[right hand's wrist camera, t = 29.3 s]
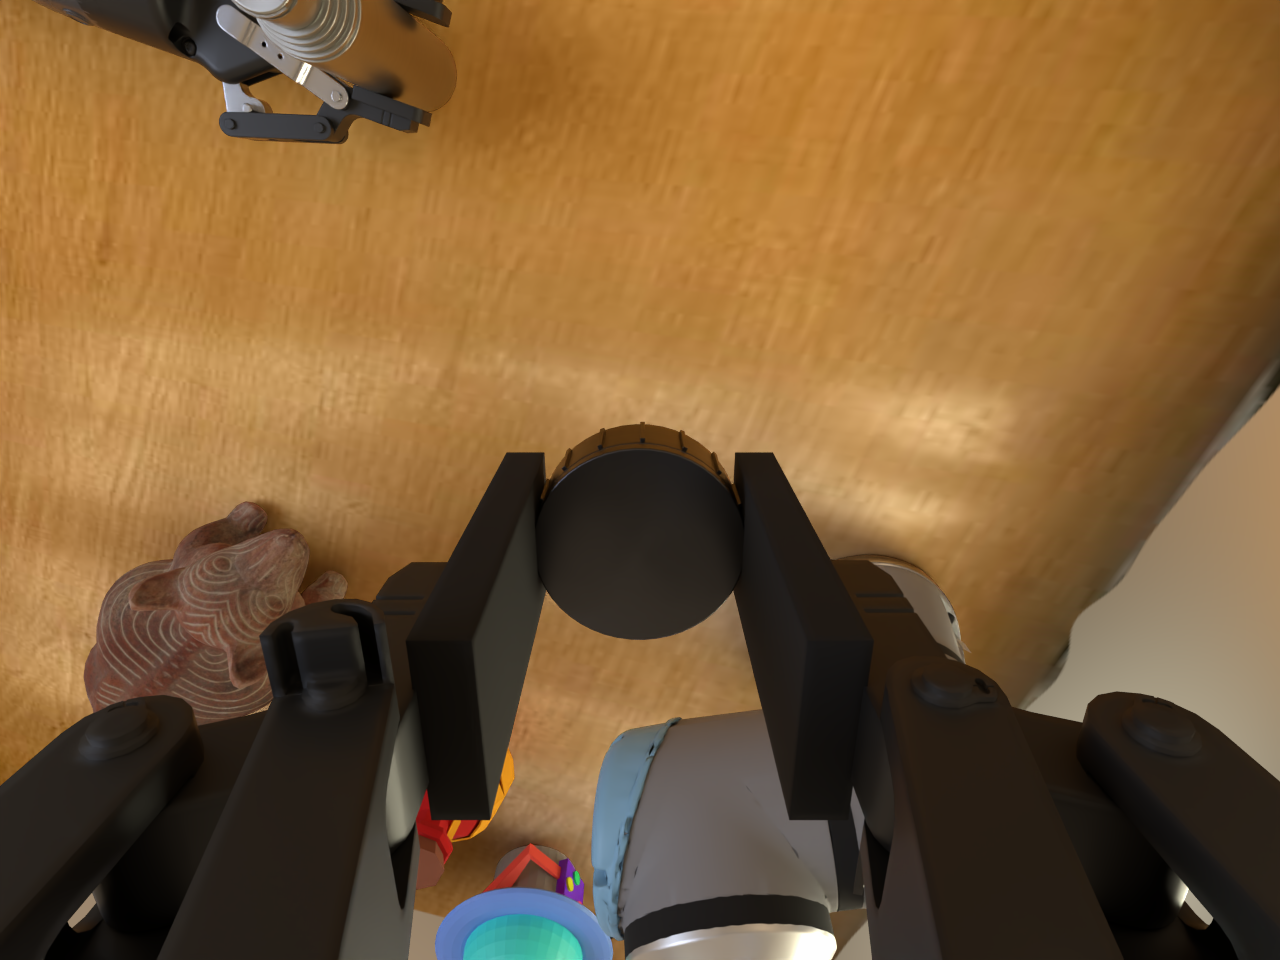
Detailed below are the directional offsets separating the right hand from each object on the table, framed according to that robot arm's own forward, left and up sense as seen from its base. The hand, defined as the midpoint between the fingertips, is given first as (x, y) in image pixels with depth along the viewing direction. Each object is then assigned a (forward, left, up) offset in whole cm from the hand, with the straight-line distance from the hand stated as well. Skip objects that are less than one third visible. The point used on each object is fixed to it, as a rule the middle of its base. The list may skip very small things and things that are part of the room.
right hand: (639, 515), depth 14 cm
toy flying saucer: (-53, -5, -36) cm, 65 cm away
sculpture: (-28, +23, -36) cm, 52 cm away
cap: (0, 0, +1) cm, 1 cm away
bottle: (+10, +17, -36) cm, 41 cm away
